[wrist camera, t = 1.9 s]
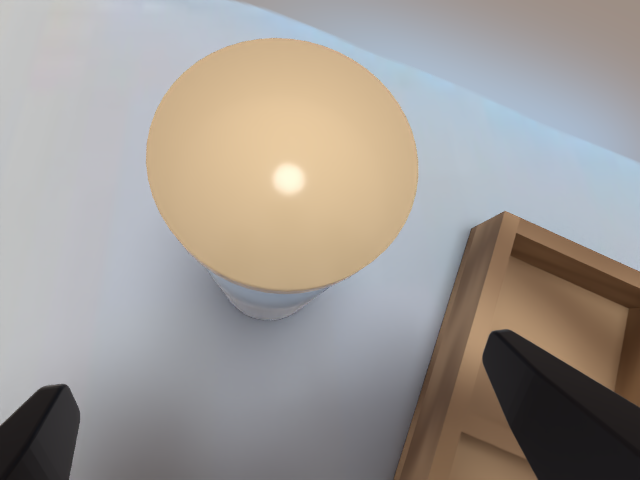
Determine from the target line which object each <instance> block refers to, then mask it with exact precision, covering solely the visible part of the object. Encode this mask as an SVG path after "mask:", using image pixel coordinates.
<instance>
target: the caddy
mask: <svg viewBox="0 0 640 480" xmlns="http://www.w3.org/2000/svg"><path fill="white" fill-rule="evenodd" d="M502 329H509V330H512V331H514V332H515V333H517V334H519V335H520V336H522V337H524V338H525V339H527V340H529V341H530V342H532V343H534V344H535V345H537V346H539V347H540V348H542V349H544V350H545V351H547V352H549V353H550V354H552V355H554V356H555V357H557V358H559V359H560V360H562V361H564V362H565V363H567V364H569V365H570V366H572V367H574V368H575V369H577V370H579V371H580V372H582V373H584V374H585V375H587V376H589V377H590V378H592V379H594V380H595V381H597V382H599V383H600V384H602V385H604V386H605V387H607V388H609V389H610V390H612V391H614V392H615V393H617V394H619V395H620V396H622V397H623V398H625V399H627V400H628V401H630V402H632V403H633V404H635V405H637V406H638V407H640V272H639V271H637V270H635V269H633V268H630V267H628V266H626V265H624V264H621V263H619V262H617V261H615V260H613V259H610V258H608V257H606V256H604V255H602V254H599V253H597V252H595V251H593V250H591V249H588V248H586V247H584V246H582V245H579V244H577V243H575V242H573V241H571V240H568V239H566V238H564V237H562V236H560V235H557V234H555V233H553V232H551V231H548V230H546V229H544V228H542V227H540V226H537V225H535V224H533V223H531V222H529V221H526V220H524V219H522V218H520V217H518V216H515V215H513V214H511V213H509V212H506V211H504V212H502V213H500V214H498V215H496V216H494V217H493V218H491V219H489V220H487V221H485V222H483V223H481V224H479V225H477V226H476V227H474V228H472V229H471V232H470V235H469V238H468V242H467V245H466V248H465V251H464V255H463V258H462V261H461V264H460V267H459V271H458V274H457V277H456V280H455V284H454V287H453V290H452V293H451V296H450V300H449V303H448V306H447V309H446V312H445V316H444V319H443V322H442V325H441V329H440V332H439V335H438V338H437V341H436V345H435V348H434V351H433V354H432V357H431V361H430V364H429V367H428V370H427V374H426V377H425V380H424V383H423V386H422V390H421V393H420V396H419V399H418V402H417V406H416V409H415V412H414V415H413V419H412V422H411V425H410V428H409V431H408V435H407V438H406V441H405V444H404V448H403V451H402V454H401V457H400V460H399V464H398V467H397V470H396V473H395V476H394V480H538V479H537V477H536V475H535V474H534V472H533V470H532V468H531V466H530V464H529V463H528V461H527V459H526V457H525V455H524V453H523V451H522V450H521V448H520V446H519V444H518V442H517V440H516V438H515V437H514V435H513V433H512V431H511V429H510V427H509V425H508V422H507V420H506V418H505V416H504V413H503V411H502V408H501V406H500V404H499V401H498V399H497V397H496V394H495V392H494V390H493V387H492V385H491V382H490V380H489V378H488V375H487V373H486V371H485V368H484V366H483V362H482V354H483V351H484V348H485V345H486V342H487V339H488V336H489V334H490V333H491V332H492V331H494V330H502Z"/></svg>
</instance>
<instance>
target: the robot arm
mask: <svg viewBox="0 0 640 480" xmlns="http://www.w3.org/2000/svg"><path fill="white" fill-rule="evenodd" d="M482 362H483V366H484V368H485V371H486V373H487V375H488V378H489V380H490V382H491V385H492V387H493V390H494V392H495V394H496V397H497V399H498V401H499V404H500V406H501V408H502V411H503V413H504V416H505V418H506V420H507V422H508V425H509V427H510V429H511V431H512V433H513V435H514V437H515V438H516V440H517V442H518V444H519V446H520V448H521V450H522V451H523V453H524V455H525V457H526V459H527V461H528V463H529V464H530V466H531V468H532V470H533V472H534V474H535V475H536V477H537V479H538V480H640V407H638V406H637V405H635V404H633V403H632V402H630V401H628V400H627V399H625V398H623V397H622V396H620V395H619V394H617V393H615V392H614V391H612V390H610V389H609V388H607V387H605V386H604V385H602V384H600V383H599V382H597V381H595V380H594V379H592V378H590V377H589V376H587V375H585V374H584V373H582V372H580V371H579V370H577V369H575V368H574V367H572V366H570V365H569V364H567V363H565V362H564V361H562V360H560V359H559V358H557V357H555V356H554V355H552V354H550V353H549V352H547V351H545V350H544V349H542V348H540V347H539V346H537V345H535V344H534V343H532V342H530V341H529V340H527V339H525V338H524V337H522V336H520V335H519V334H517V333H515V332H514V331H512V330H509V329H502V330H494V331H492V332H491V333H490V334H489V336H488V339H487V342H486V345H485V348H484V351H483V354H482ZM79 423H80V411H79V408H78V405H77V403H76V401H75V399H74V397H73V395H72V392H71V390H70V388H69V387H68V386H67V385H66V384H57V385H48V386H44V387H42V388H40V389H39V390H37V391H36V392H35V393H34V394H33V395H32V396H31V397H30V398H29V399H28V400H27V401H26V402H25V403H24V404H23V405H22V406H21V407H19V408H18V409H17V410H16V411H15V412H14V413H13V414H12V415H11V416H10V417H9V418H8V419H7V420H6V421H5V422H4V423H3V424H2V425H1V426H0V480H69V476H70V471H71V466H72V460H73V455H74V450H75V445H76V439H77V434H78V429H79Z"/></svg>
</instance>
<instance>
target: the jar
mask: <svg viewBox="0 0 640 480" xmlns="http://www.w3.org/2000/svg"><path fill="white" fill-rule="evenodd" d="M146 165H147V174H148V181H149V184H150V188H151V192H152V196H153V198H154V200H155V203H156V205H157V207H158V210H159V212H160V214H161V216H162V217H163V219H164V221H165V222H166V224H167V225H168V227H169V229H170V230H171V231H172V233H173V234H174V235H175V236H176V238H177V239H178V240H179V241H180V243H181V244H182V245H183V246H184V247H185V249H186V250H187V251H188V252H189V253H190V254H191V255H192V256H193V257H194V258H195V259H196V260H197V261H198V262H199V263H200V264H202V265H203V266H204V267H205V268H206V269H207V271H208V272H209V273H210V275H211V276H212V277H213V279H214V280H215V282H216V283H217V284H218V286H219V287H220V289H221V290H222V291H223V293H224V294H225V295H226V297H227V298H228V300H229V301H230V302H231V303H232V304H233V305H234V306H235V307H236V308H237V309H238V310H239V311H241V312H242V313H244V314H246V315H248V316H250V317H253V318H255V319H260V320H278V319H282V318H285V317H288V316H290V315H292V314H294V313H296V312H297V311H299V310H300V309H301V308H303V307H304V306H305V305H307V304H308V303H309V302H311V301H312V300H313V299H315V298H316V297H317V296H319V295H320V294H321V293H322V292H324V291H325V290H326V289H328V288H329V287H330V286H332V285H335V284H337V283H339V282H341V281H343V280H345V279H347V278H349V277H350V276H352V275H353V274H355V273H356V272H358V271H359V270H361V269H362V268H364V267H365V266H367V265H368V264H370V263H371V262H372V261H374V260H375V259H376V258H377V257H378V256H379V255H380V254H381V253H383V252H384V251H385V250H386V249H387V248H388V246H389V245H390V244H391V243H392V242H393V240H394V239H395V238H396V237H397V235H398V234H399V232H400V230H401V229H402V227H403V226H404V224H405V222H406V220H407V218H408V215H409V213H410V211H411V209H412V205H413V202H414V198H415V195H416V189H417V182H418V157H417V150H416V144H415V141H414V137H413V133H412V130H411V128H410V125H409V123H408V121H407V118H406V116H405V114H404V113H403V111H402V109H401V107H400V105H399V104H398V102H397V101H396V100H395V98H394V97H393V95H392V94H391V93H390V91H389V90H388V89H387V88H386V87H385V86H384V85H383V84H382V83H381V82H380V80H379V79H378V78H376V77H375V76H374V75H373V74H372V73H371V72H369V71H368V70H367V69H366V68H364V67H363V66H361V65H360V64H358V63H357V62H356V61H354V60H353V59H351V58H349V57H347V56H345V55H343V54H341V53H339V52H337V51H335V50H332V49H330V48H327V47H325V46H322V45H318V44H314V43H311V42H307V41H301V40H294V39H282V38H269V39H256V40H251V41H245V42H241V43H237V44H234V45H231V46H227V47H225V48H223V49H220V50H218V51H216V52H213V53H211V54H210V55H208V56H206V57H205V58H203V59H201V60H200V61H198V62H196V63H195V64H194V65H193V66H191V67H190V68H189V69H188V70H186V71H185V72H184V73H183V74H182V75H181V76H180V77H179V78H178V79H177V80H176V81H175V82H174V83H173V85H172V86H171V87H170V89H169V90H168V91H167V93H166V94H165V96H164V97H163V99H162V101H161V103H160V104H159V106H158V108H157V110H156V112H155V115H154V118H153V121H152V123H151V126H150V130H149V136H148V141H147V152H146Z"/></svg>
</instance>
